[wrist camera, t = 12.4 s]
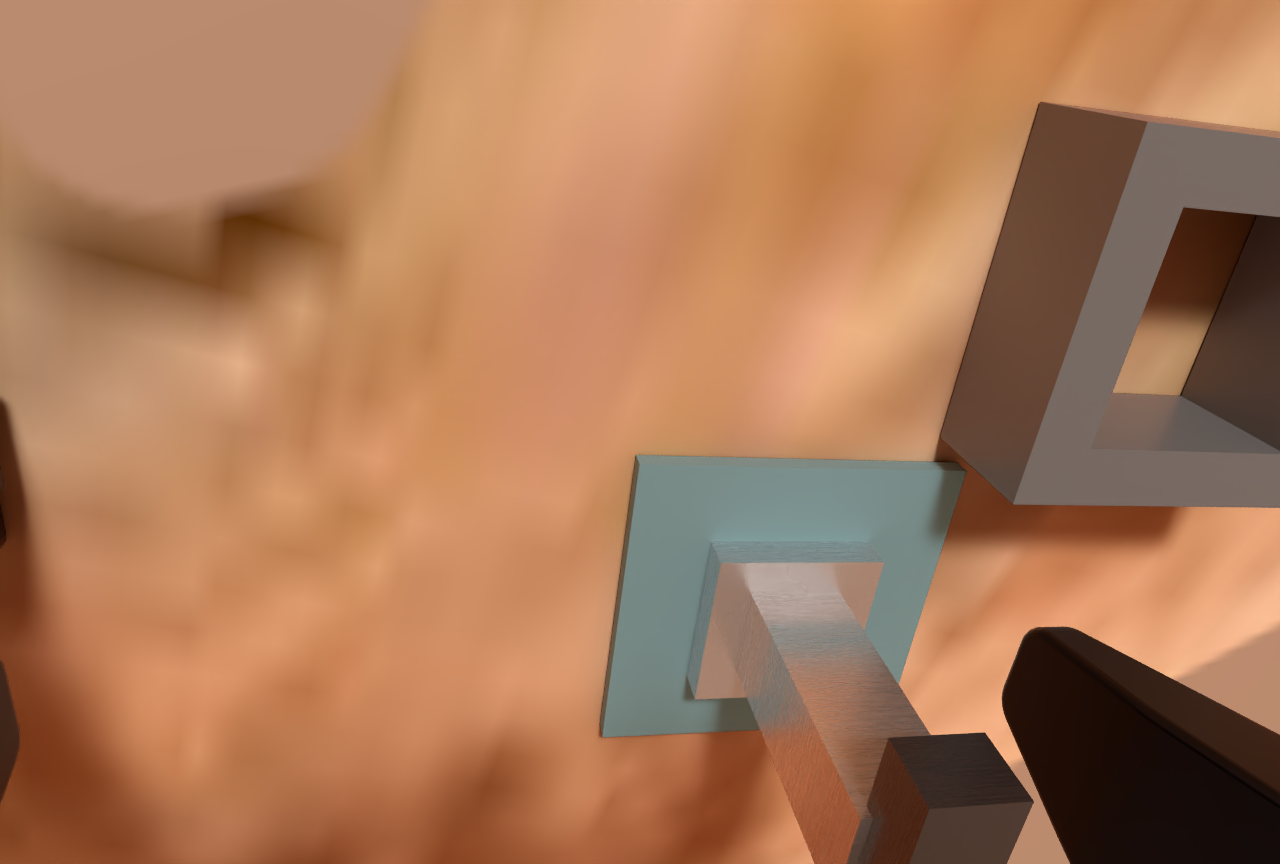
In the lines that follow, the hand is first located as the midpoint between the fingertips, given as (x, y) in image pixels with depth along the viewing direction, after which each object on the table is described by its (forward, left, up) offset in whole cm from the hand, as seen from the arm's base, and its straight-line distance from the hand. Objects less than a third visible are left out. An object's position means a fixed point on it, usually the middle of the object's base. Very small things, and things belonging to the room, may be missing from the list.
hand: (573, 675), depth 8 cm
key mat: (+8, -9, -13) cm, 18 cm away
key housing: (+16, 0, -13) cm, 21 cm away
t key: (+8, -9, -12) cm, 17 cm away
